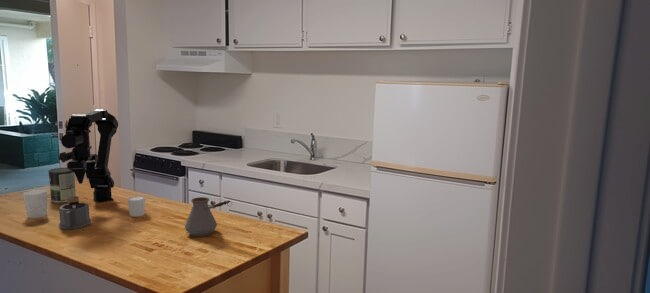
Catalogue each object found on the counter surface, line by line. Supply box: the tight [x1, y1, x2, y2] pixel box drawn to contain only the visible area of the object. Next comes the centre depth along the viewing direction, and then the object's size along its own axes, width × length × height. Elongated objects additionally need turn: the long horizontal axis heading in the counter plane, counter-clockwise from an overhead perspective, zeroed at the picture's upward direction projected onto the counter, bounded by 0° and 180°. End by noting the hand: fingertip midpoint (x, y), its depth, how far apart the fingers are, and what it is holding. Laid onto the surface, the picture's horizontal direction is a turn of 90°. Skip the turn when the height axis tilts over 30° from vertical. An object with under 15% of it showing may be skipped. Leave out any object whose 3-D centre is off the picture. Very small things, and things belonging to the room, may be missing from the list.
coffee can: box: [47, 167, 77, 204], centre depth 203 cm, size 10×10×14 cm
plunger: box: [68, 195, 80, 209], centre depth 169 cm, size 7×7×8 cm
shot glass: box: [127, 195, 146, 218], centre depth 184 cm, size 7×7×7 cm
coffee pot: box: [184, 196, 233, 237], centre depth 160 cm, size 21×12×15 cm, turn 57°
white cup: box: [23, 189, 48, 219], centre depth 180 cm, size 8×8×10 cm
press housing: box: [58, 202, 92, 231], centre depth 169 cm, size 13×11×8 cm
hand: (84, 181), depth 186 cm, fingers open, 9 cm apart
